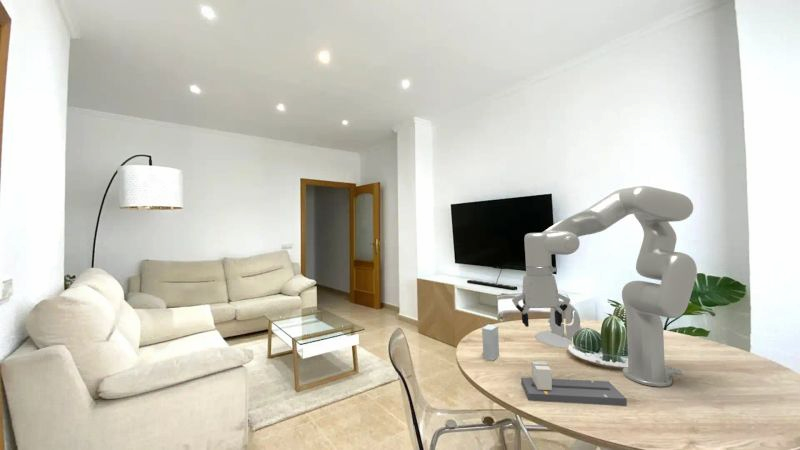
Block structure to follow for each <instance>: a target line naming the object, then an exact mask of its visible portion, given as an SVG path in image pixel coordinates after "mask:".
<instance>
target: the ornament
mask: <svg viewBox="0 0 800 450" xmlns="http://www.w3.org/2000/svg"><path fill="white" fill-rule="evenodd" d="M562 303H563V300H559V306H560V305H561V304H562ZM549 309H550V311H549V314H550V316H549V319H548V321H547V323H549V327H550V330H551V331H549V330H542V331H538V332H536V333H535V336H534V337H535V340H536V341H538V342H540V343H542V344H544V345H547V346H550V347H555V348H559V349H567V348H568V346H569V344H570V343H571V342H572V337H573V335H574V333H575V332H577V331H578V330H581V329H582V330H583V328H582V326H581V317H580V313H579V312H578V310H577V309H576V308H575V306H574V305H572V304H571V302H569V304H568V306H567V308H566V309H565V310H564V311H565V312H563V313H562V323H561V326H558V325H556V324H555V311H556V309H555V308H549ZM564 321H565V324H566V325H565V324H564ZM572 321H573V322H572ZM571 323H572V324H571ZM564 335H566V337H565V336H564Z"/></svg>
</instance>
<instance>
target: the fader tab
mask: <svg viewBox="0 0 800 450" xmlns="http://www.w3.org/2000/svg"><path fill="white" fill-rule="evenodd" d="M531 373H532V374H531V376H532V377H531V378H532V380H533V382H534V384H535V385H536V387H537V389H538V390H552V379H553V378H552V377H553V376H552V369H551V367H550V366H549V364H548V363H547V362H546V361H545V360H531Z"/></svg>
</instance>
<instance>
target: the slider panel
mask: <svg viewBox="0 0 800 450" xmlns="http://www.w3.org/2000/svg"><path fill="white" fill-rule="evenodd" d="M520 379H521V381H520V382H521V383H520V384H521V386H522V388H523V391H524V393H525V395H526V397H527V399H528V401H534V402H551V403H553V402H555V403H571V404H572V403H573V404H589V405H602V406H603V405H607V406H608V405H609V406H623V407H627V405H628V404H627V403H628V401H627V399H628V398H627V397H625V396H624V395H623V394H622V392H621V391H619V390H618V389H617V388H616V387H615V386H614V385H613V384H612V383H611V382H610V381H608V380H592V379H591V380H588V379H569V378H568V379H567V378H566V379H565V378H552V390H538V389H537V387H536V385H535V384H534V382H533V380H532V377H526V376H525V377H523V376H521V377H520Z"/></svg>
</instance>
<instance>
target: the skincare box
mask: <svg viewBox="0 0 800 450" xmlns="http://www.w3.org/2000/svg"><path fill="white" fill-rule="evenodd" d="M481 329H482V330H481V331H482V333H481V334H482V355H483V356H482V357H483V359H484V360H487V361H488V360H489V361H491V362H494V361H495V360H496V359H498V357H499V356H500V345H499V326H498V325H495V324H489V323H488V324H485V326H483V327H482V328H481Z"/></svg>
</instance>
